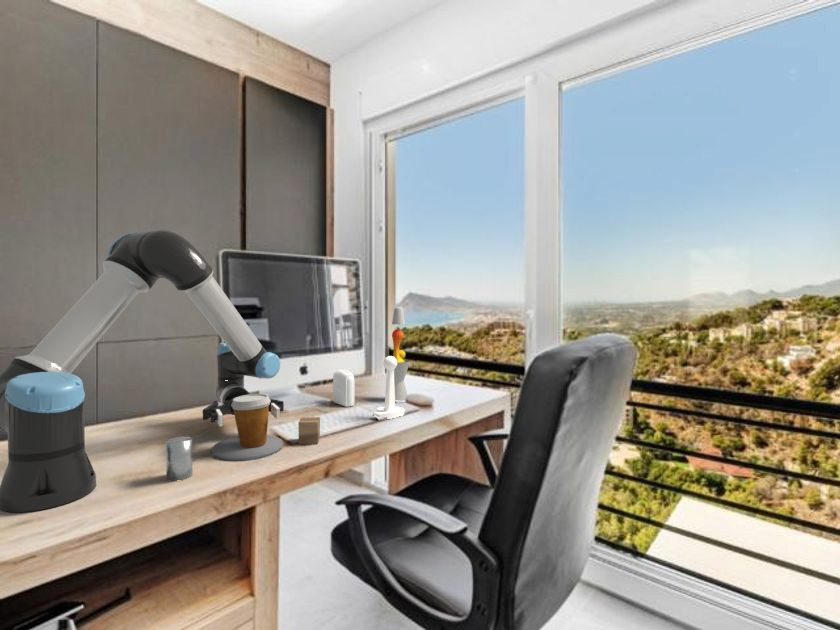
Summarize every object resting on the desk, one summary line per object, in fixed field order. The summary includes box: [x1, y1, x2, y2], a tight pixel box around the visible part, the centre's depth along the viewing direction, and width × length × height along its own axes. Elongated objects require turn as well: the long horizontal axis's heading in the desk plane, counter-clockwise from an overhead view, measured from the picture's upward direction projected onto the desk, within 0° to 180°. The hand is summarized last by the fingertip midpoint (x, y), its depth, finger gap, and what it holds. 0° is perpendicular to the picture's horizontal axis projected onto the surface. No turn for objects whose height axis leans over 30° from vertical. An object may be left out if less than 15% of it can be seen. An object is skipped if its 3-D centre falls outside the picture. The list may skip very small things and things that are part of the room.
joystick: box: [372, 355, 405, 420], centre depth 151 cm, size 11×8×20 cm
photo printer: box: [332, 369, 356, 408], centre depth 166 cm, size 10×4×12 cm, turn 39°
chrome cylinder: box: [165, 436, 193, 482], centre depth 100 cm, size 5×5×8 cm
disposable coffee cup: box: [231, 393, 271, 448], centre depth 119 cm, size 10×10×12 cm
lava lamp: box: [391, 306, 411, 400], centre depth 172 cm, size 9×9×35 cm
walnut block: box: [298, 416, 321, 445], centre depth 125 cm, size 5×5×6 cm
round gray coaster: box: [211, 434, 284, 462], centre depth 118 cm, size 17×17×1 cm
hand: (250, 417), depth 115 cm, fingers open, 13 cm apart
